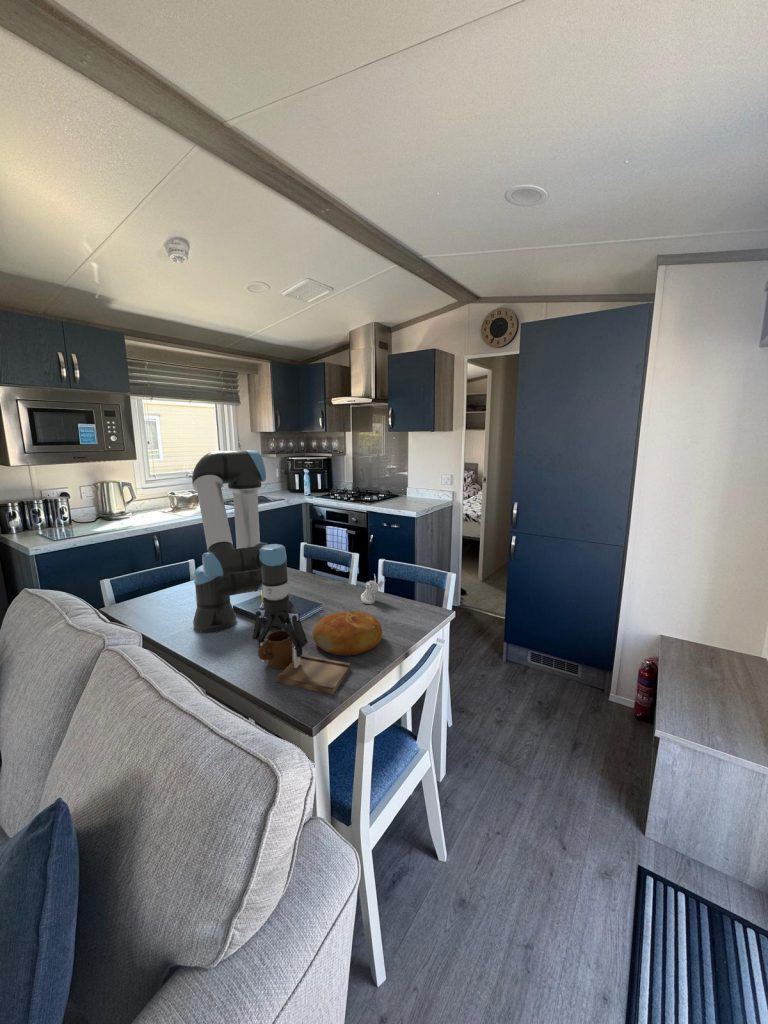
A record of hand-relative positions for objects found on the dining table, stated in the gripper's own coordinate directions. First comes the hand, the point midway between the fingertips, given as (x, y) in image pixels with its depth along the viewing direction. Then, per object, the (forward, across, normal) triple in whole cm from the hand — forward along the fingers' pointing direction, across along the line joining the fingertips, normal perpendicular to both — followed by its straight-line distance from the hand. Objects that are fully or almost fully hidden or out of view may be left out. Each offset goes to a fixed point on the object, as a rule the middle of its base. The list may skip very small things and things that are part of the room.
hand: (281, 663), depth 133 cm
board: (+2, +12, -1) cm, 12 cm away
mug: (+2, -2, 0) cm, 3 cm away
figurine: (+2, +11, +56) cm, 57 cm away
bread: (+2, +14, +21) cm, 25 cm away
